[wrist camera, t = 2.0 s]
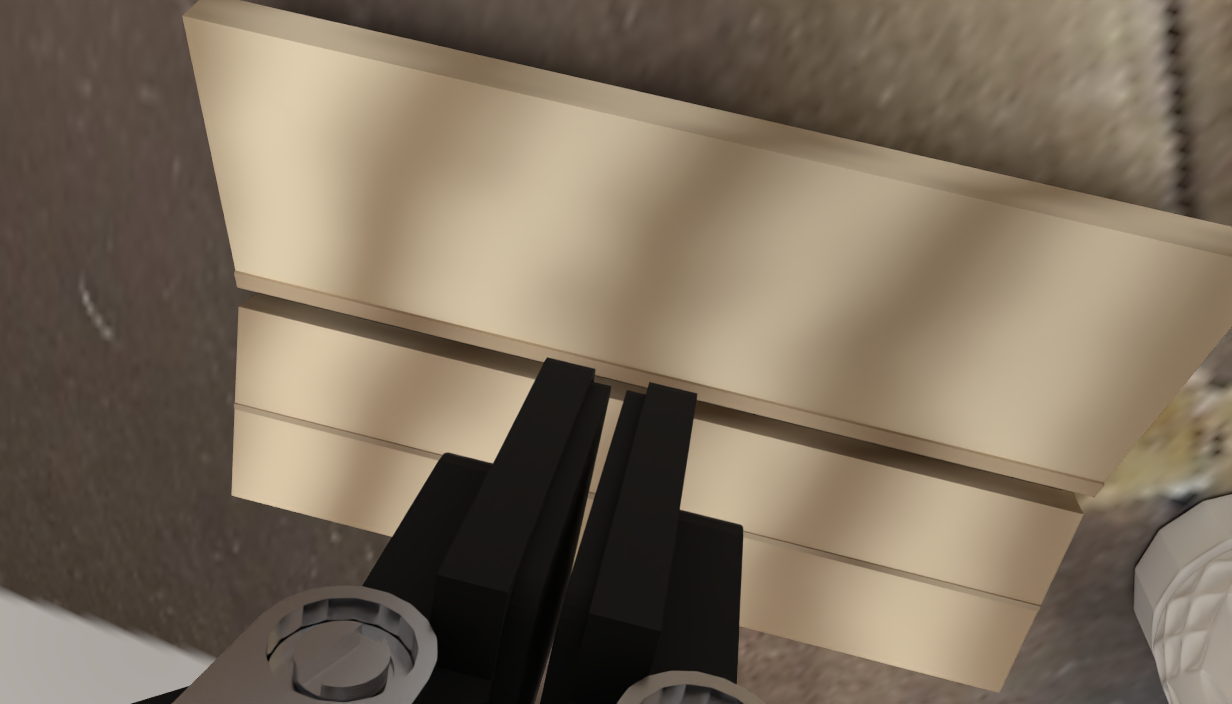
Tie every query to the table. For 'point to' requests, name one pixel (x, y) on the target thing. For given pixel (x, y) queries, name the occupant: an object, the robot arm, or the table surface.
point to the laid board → (713, 486)
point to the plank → (702, 248)
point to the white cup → (1190, 603)
